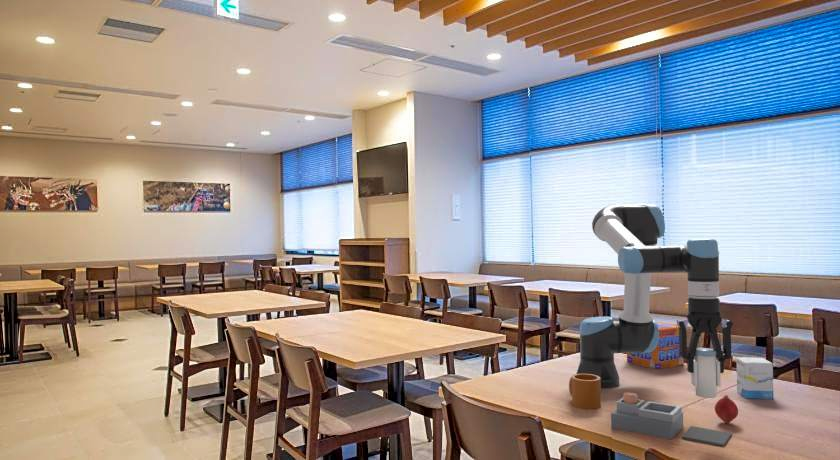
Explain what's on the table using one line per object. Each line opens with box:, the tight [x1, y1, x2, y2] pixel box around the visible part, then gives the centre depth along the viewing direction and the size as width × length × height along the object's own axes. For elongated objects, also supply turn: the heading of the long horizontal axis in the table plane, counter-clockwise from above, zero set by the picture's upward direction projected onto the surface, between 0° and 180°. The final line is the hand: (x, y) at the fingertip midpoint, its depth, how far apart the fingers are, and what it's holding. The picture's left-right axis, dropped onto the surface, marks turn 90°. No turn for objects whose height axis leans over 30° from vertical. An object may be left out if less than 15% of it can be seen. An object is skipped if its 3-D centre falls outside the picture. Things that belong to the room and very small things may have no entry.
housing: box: [610, 396, 684, 440], centre depth 162 cm, size 16×12×6 cm
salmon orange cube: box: [623, 392, 638, 404], centre depth 164 cm, size 4×4×4 cm
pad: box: [681, 425, 732, 448], centre depth 153 cm, size 10×10×1 cm
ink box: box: [735, 356, 774, 400], centre depth 190 cm, size 8×8×12 cm
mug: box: [568, 373, 602, 410], centre depth 184 cm, size 9×12×9 cm
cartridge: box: [694, 347, 718, 399], centre depth 153 cm, size 5×5×12 cm
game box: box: [626, 321, 685, 370], centre depth 237 cm, size 16×16×16 cm
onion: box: [714, 394, 739, 424], centre depth 164 cm, size 6×6×8 cm
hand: (705, 384), depth 153 cm, fingers closed on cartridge, 5 cm apart
